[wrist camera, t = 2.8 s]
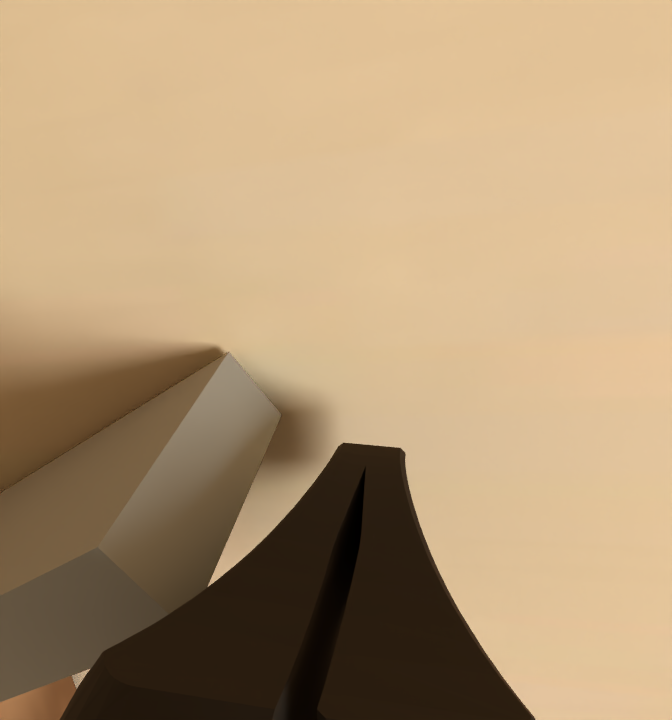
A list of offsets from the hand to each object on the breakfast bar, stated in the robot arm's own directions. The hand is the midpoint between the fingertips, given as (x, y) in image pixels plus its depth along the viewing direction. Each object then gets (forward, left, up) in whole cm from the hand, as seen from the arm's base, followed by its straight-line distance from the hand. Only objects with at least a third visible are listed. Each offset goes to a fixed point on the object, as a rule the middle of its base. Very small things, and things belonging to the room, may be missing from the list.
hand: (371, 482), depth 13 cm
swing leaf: (-2, +8, -2) cm, 8 cm away
